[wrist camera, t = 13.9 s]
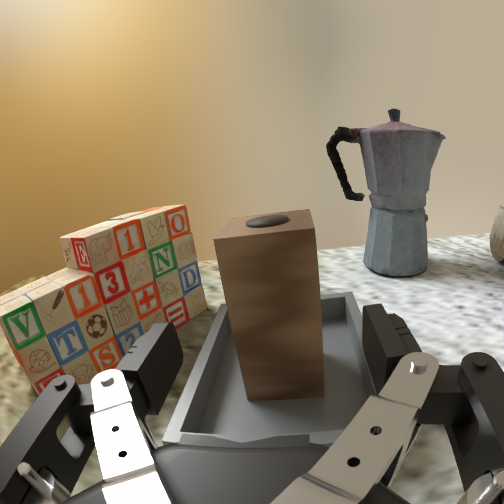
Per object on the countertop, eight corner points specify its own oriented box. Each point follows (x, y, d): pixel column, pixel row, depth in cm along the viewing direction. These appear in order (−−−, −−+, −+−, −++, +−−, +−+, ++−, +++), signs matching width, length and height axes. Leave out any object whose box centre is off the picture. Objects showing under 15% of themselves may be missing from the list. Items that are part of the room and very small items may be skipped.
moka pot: (456, 277, 31) (451, 103, 25) (335, 283, 36) (316, 109, 30) (438, 251, 39) (430, 112, 33) (338, 256, 44) (323, 117, 38)
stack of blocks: (50, 413, 19) (-16, 277, 15) (30, 385, 22) (-21, 268, 18) (209, 308, 35) (186, 201, 31) (173, 299, 39) (151, 205, 35)
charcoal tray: (179, 469, 14) (161, 440, 13) (226, 331, 29) (220, 304, 28) (392, 462, 12) (402, 431, 11) (352, 320, 27) (351, 291, 27)
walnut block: (247, 400, 19) (212, 236, 15) (256, 356, 23) (231, 216, 20) (324, 396, 18) (314, 224, 15) (320, 352, 22) (309, 206, 19)
